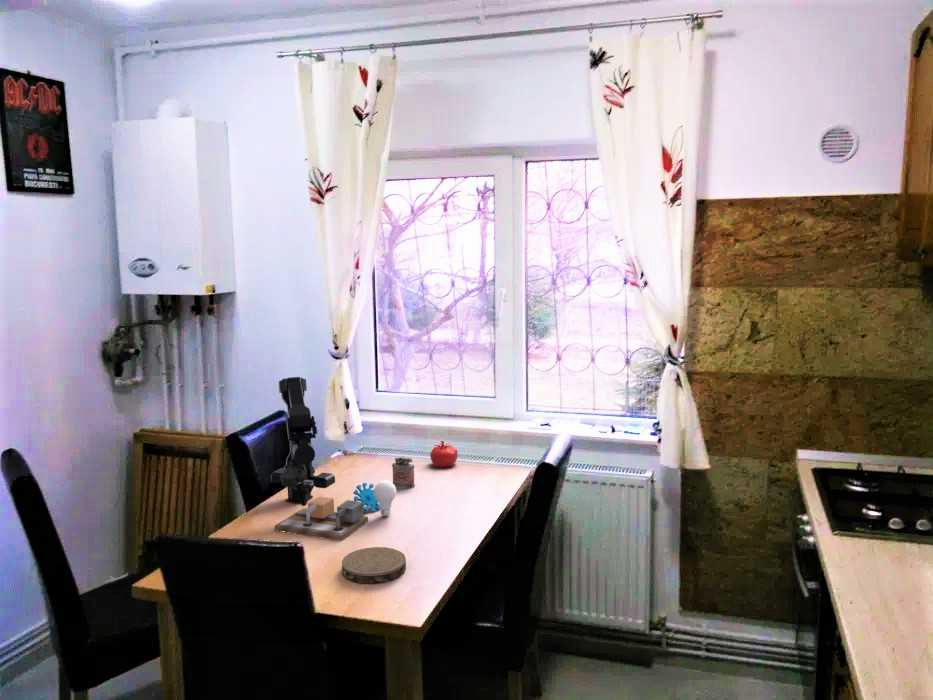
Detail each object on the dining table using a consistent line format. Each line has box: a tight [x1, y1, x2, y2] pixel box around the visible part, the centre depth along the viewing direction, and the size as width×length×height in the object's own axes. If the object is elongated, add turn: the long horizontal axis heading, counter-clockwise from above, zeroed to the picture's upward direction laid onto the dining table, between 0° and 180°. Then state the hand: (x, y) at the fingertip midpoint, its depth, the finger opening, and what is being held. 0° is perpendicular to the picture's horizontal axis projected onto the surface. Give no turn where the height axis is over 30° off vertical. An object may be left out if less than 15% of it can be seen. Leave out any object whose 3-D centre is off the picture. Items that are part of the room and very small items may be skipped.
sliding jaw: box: [306, 496, 335, 525], centre depth 217 cm, size 5×10×4 cm, turn 159°
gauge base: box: [274, 499, 369, 542], centre depth 216 cm, size 22×15×7 cm
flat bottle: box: [391, 456, 416, 489], centre depth 250 cm, size 8×3×10 cm, turn 68°
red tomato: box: [429, 440, 459, 468], centre depth 273 cm, size 10×10×9 cm
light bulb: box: [373, 479, 397, 517], centre depth 223 cm, size 7×7×11 cm
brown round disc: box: [341, 546, 407, 586], centre depth 187 cm, size 16×16×3 cm
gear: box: [353, 482, 381, 513], centre depth 231 cm, size 11×6×10 cm
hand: (304, 505), depth 221 cm, fingers closed
